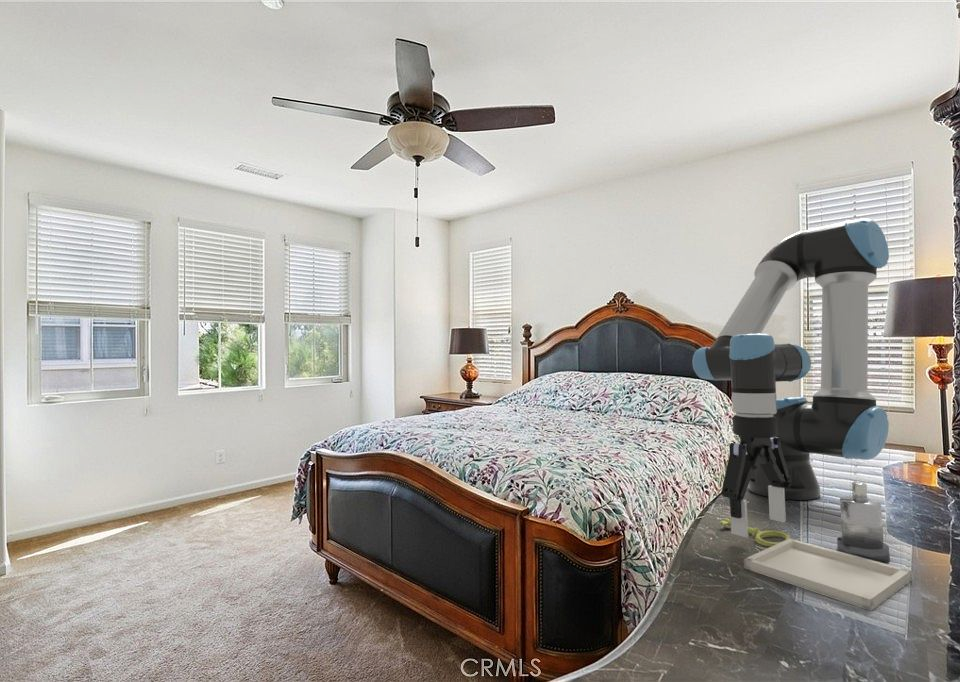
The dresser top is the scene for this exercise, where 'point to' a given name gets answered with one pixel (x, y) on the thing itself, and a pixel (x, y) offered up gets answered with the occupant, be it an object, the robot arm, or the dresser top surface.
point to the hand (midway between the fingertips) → (759, 527)
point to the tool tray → (830, 572)
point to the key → (760, 534)
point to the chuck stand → (862, 526)
